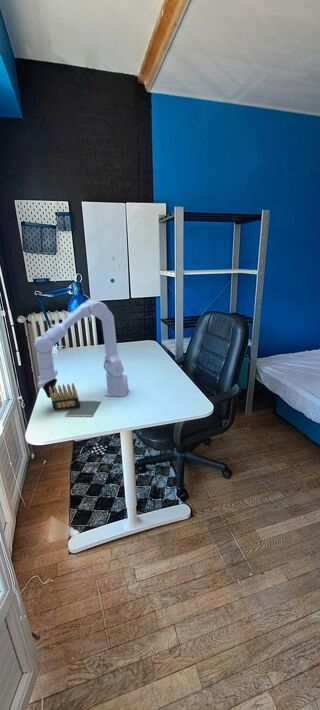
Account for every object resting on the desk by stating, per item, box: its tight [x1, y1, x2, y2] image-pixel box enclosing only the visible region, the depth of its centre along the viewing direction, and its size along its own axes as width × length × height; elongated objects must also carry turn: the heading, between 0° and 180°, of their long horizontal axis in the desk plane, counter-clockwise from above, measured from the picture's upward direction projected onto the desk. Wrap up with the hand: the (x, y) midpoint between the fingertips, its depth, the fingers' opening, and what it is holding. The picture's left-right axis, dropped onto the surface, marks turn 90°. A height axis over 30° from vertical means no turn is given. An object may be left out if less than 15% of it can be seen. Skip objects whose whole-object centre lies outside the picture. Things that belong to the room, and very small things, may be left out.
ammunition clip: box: [49, 383, 81, 412], centre depth 121 cm, size 11×2×12 cm, turn 99°
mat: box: [64, 400, 101, 418], centre depth 124 cm, size 11×13×1 cm
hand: (50, 397), depth 123 cm, fingers closed
